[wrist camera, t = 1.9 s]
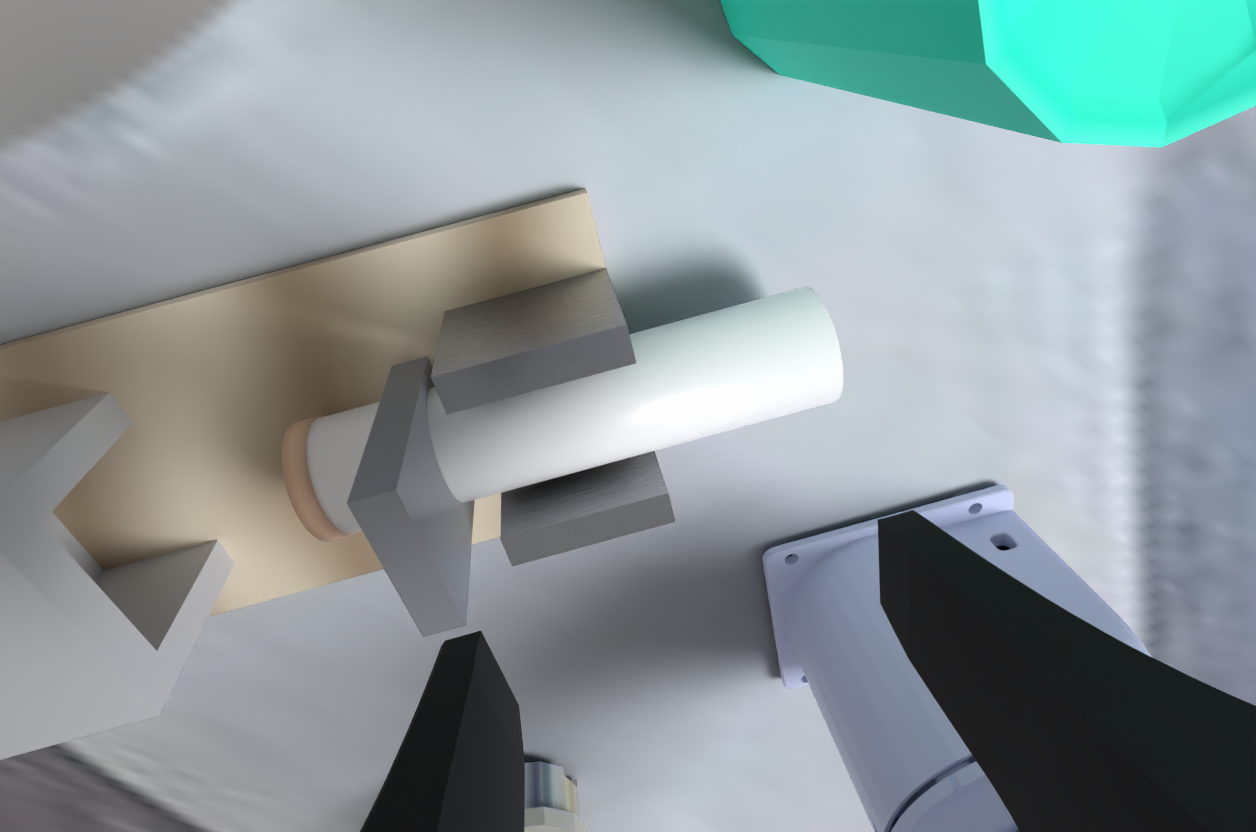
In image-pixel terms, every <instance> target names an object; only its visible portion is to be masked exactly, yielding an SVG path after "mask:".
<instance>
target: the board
mask: <svg viewBox="0 0 1256 832" xmlns="http://www.w3.org/2000/svg"><path fill="white" fill-rule="evenodd" d="M604 268H606V267H605V263H604V259H603V255H602V251H601V247H600V243H599V239H598V235H597V231H596V227H595V223H594V219H593V215H592V211H591V207H590V203H589V199H588V195H587V191H586V189H585V188H584V189H581V190H577V191H573V192H569V193H566V194H562V195H558V196H554V197H551V198H547V199H543V200H540V201H536V202H532V203H528V204H525V205H521V206H517V207H513V208H510V209H506V210H502V211H498V212H495V213H491V214H487V215H483V216H480V217H476V218H472V219H469V220H465V221H461V222H457V223H454V224H450V225H446V226H442V227H439V228H435V229H431V230H427V231H424V232H420V233H416V234H413V235H409V236H405V237H401V238H398V239H394V240H390V241H386V242H383V243H379V244H375V245H371V246H368V247H364V248H360V249H356V250H353V251H349V252H345V253H342V254H338V255H334V256H330V257H327V258H323V259H319V260H315V261H312V262H308V263H304V264H300V265H297V266H293V267H289V268H286V269H282V270H278V271H274V272H271V273H267V274H263V275H259V276H256V277H252V278H248V279H244V280H241V281H237V282H233V283H229V284H226V285H222V286H218V287H215V288H211V289H207V290H203V291H200V292H196V293H192V294H188V295H185V296H181V297H177V298H173V299H170V300H166V301H162V302H158V303H155V304H151V305H147V306H144V307H140V308H136V309H132V310H129V311H125V312H121V313H117V314H114V315H110V316H106V317H102V318H99V319H95V320H91V321H88V322H84V323H80V324H76V325H73V326H69V327H65V328H61V329H58V330H54V331H50V332H46V333H43V334H39V335H35V336H31V337H28V338H24V339H20V340H17V341H13V342H9V343H5V344H2V345H0V422H1V421H5V420H8V419H12V418H16V417H19V416H23V415H27V414H31V413H34V412H38V411H42V410H45V409H49V408H53V407H57V406H60V405H64V404H68V403H72V402H75V401H79V400H83V399H86V398H90V397H94V396H98V395H101V394H105V393H109V392H110V393H111V394H112V395H113V397H114V398H115V399H116V401H117V402H118V404H119V405H120V406H121V408H122V409H123V410H124V412H125V413H126V415H127V416H128V417H129V419H130V420H131V421H132V424H131V425H130V426H129V427H128V428H127V430H126V431H125V432H124V433H123V434H122V435H121V436H120V437H119V438H118V439H117V441H116V442H115V443H114V444H113V445H112V446H111V447H110V448H109V449H108V450H107V451H106V453H105V454H104V455H103V456H102V457H101V458H100V459H99V460H98V461H97V462H96V464H95V465H94V466H93V467H92V468H91V469H90V470H89V471H88V472H87V473H86V475H85V476H84V477H83V478H82V479H81V480H80V481H79V482H78V483H77V484H76V486H75V487H74V488H73V489H72V490H71V491H70V492H69V493H68V494H67V495H66V497H65V498H64V499H63V500H62V501H61V502H60V503H59V504H58V505H57V506H56V508H55V509H54V510H53V511H52V512H53V513H54V515H55V516H56V517H57V518H58V519H59V520H60V521H61V523H62V524H63V525H64V526H65V527H66V528H67V529H68V531H69V532H70V533H71V534H72V535H73V536H74V537H75V538H76V540H77V541H78V542H79V543H80V544H81V545H82V546H83V548H84V549H85V550H86V551H87V552H88V553H89V554H90V556H91V557H92V558H93V559H94V560H95V561H96V562H97V564H98V565H99V566H100V567H101V568H102V569H103V570H104V571H105V570H109V569H113V568H116V567H120V566H124V565H127V564H131V563H135V562H138V561H142V560H146V559H149V558H153V557H157V556H160V555H164V554H168V553H171V552H175V551H179V550H182V549H186V548H190V547H193V546H197V545H201V544H205V543H208V542H212V541H216V540H219V542H220V543H221V545H222V546H223V547H224V549H225V550H226V551H227V553H228V554H229V555H230V557H231V558H232V560H233V561H234V562H235V564H234V566H233V568H232V570H231V572H230V574H229V576H228V578H227V580H226V582H225V584H224V586H223V588H222V590H221V592H220V594H219V596H218V598H217V600H216V602H215V604H214V606H213V608H212V610H211V612H210V614H209V616H213V615H217V614H220V613H224V612H228V611H231V610H235V609H239V608H242V607H246V606H250V605H253V604H257V603H261V602H264V601H268V600H272V599H275V598H279V597H282V596H286V595H290V594H293V593H297V592H301V591H304V590H308V589H312V588H315V587H319V586H323V585H326V584H330V583H334V582H337V581H341V580H345V579H348V578H352V577H356V576H359V575H363V574H367V573H370V572H374V571H377V570H381V569H384V568H383V566H382V564H381V563H380V561H379V559H378V557H377V556H376V554H375V552H374V550H373V549H372V547H371V545H370V543H369V542H368V540H367V538H366V536H365V535H364V533H363V531H359V532H357V533H356V534H354V535H351V536H348V537H344V538H340V539H337V540H333V541H329V542H325V541H321V540H319V539H317V538H315V537H314V536H313V535H312V534H310V533H309V532H308V531H307V529H306V528H305V527H304V526H303V524H302V523H301V521H300V520H299V518H298V516H297V515H296V513H295V511H294V509H293V507H292V504H291V502H290V499H289V496H288V493H287V490H286V486H285V482H284V478H283V472H282V461H281V452H282V443H283V439H284V435H285V433H286V431H287V429H288V428H289V427H290V426H291V425H292V424H294V423H296V422H299V421H303V420H307V419H310V418H314V417H318V416H329V415H332V414H336V413H340V412H344V411H347V410H351V409H355V408H358V407H362V406H366V405H369V404H373V403H377V402H380V400H381V397H382V394H383V391H384V388H385V385H386V382H387V379H388V376H389V373H390V370H391V367H392V366H393V365H397V364H400V363H404V362H408V361H411V360H415V359H419V358H423V357H426V356H428V358H429V361H430V363H431V365H432V368H433V364H434V360H435V355H436V350H437V345H438V341H439V336H440V331H441V327H442V322H443V317H444V312H445V311H448V310H452V309H456V308H459V307H463V306H467V305H470V304H474V303H478V302H482V301H485V300H489V299H493V298H496V297H500V296H504V295H508V294H511V293H515V292H519V291H522V290H526V289H530V288H533V287H537V286H541V285H545V284H548V283H552V282H556V281H559V280H563V279H567V278H571V277H574V276H578V275H582V274H585V273H589V272H593V271H597V270H600V269H604ZM498 537H501V493H498V494H494V495H491V496H487V497H483V498H480V499H476V500H475V501H474V516H473V530H472V544H476V543H480V542H483V541H487V540H491V539H494V538H498ZM472 544H471V545H472ZM209 616H208V617H209Z"/></svg>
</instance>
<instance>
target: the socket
mask: <svg viewBox="0 0 1256 832" xmlns="http://www.w3.org/2000/svg"><path fill="white" fill-rule="evenodd" d="M131 424H132V421H131V420H130V419H129V417H128V416H127V415H126V413H125V412H124V410H123V409H122V408H121V406H120V405H119V404H118V402H117V401H116V399H115V398H114V397H113V395H112V394H111V393H110V392H109V393H105V394H101V395H98V396H94V397H90V398H86V399H83V400H79V401H75V402H72V403H68V404H64V405H60V406H57V407H53V408H49V409H45V410H42V411H38V412H34V413H31V414H27V415H23V416H19V417H16V418H12V419H8V420H5V421H1V422H0V760H1V759H5V758H8V757H12V756H16V755H19V754H23V753H26V752H30V751H34V750H37V749H41V748H45V747H48V746H52V745H56V744H59V743H63V742H66V741H70V740H74V739H77V738H81V737H85V736H88V735H92V734H96V733H99V732H103V731H106V730H110V729H114V728H117V727H121V726H125V725H128V724H132V723H135V722H139V721H143V720H146V719H150V718H154V717H157V716H159V715H160V713H161V711H162V709H163V707H164V705H165V703H166V701H167V699H168V697H169V695H170V693H171V691H172V689H173V687H174V685H175V683H176V681H177V679H178V677H179V675H180V673H181V671H182V669H183V667H184V665H185V663H186V661H187V659H188V657H189V655H190V653H191V651H192V649H193V647H194V645H195V643H196V641H197V639H198V637H199V635H200V633H201V630H202V628H203V626H204V624H205V622H206V620H207V618H208V616H209V614H210V612H211V610H212V608H213V606H214V604H215V602H216V600H217V598H218V596H219V594H220V592H221V590H222V588H223V586H224V584H225V582H226V580H227V578H228V576H229V574H230V572H231V570H232V568H233V566H234V564H235V562H234V561H233V560H232V558H231V557H230V555H229V554H228V553H227V551H226V550H225V549H224V547H223V546H222V545H221V543H220V542H219V540H216V541H212V542H208V543H205V544H201V545H197V546H193V547H190V548H186V549H182V550H179V551H175V552H171V553H168V554H164V555H160V556H157V557H153V558H149V559H146V560H142V561H138V562H135V563H131V564H127V565H124V566H120V567H116V568H113V569H109V570H105V571H104V570H103V569H102V568H101V567H100V566H99V565H98V564H97V562H96V561H95V560H94V559H93V558H92V557H91V556H90V554H89V553H88V552H87V551H86V550H85V549H84V548H83V546H82V545H81V544H80V543H79V542H78V541H77V540H76V538H75V537H74V536H73V535H72V534H71V533H70V532H69V531H68V529H67V528H66V527H65V526H64V525H63V524H62V523H61V521H60V520H59V519H58V518H57V517H56V516H55V515H54V513H53V512H52V511H53V510H54V509H55V508H56V506H57V505H58V504H59V503H60V502H61V501H62V500H63V499H64V498H65V497H66V495H67V494H68V493H69V492H70V491H71V490H72V489H73V488H74V487H75V486H76V484H77V483H78V482H79V481H80V480H81V479H82V478H83V477H84V476H85V475H86V473H87V472H88V471H89V470H90V469H91V468H92V467H93V466H94V465H95V464H96V462H97V461H98V460H99V459H100V458H101V457H102V456H103V455H104V454H105V453H106V451H107V450H108V449H109V448H110V447H111V446H112V445H113V444H114V443H115V442H116V441H117V439H118V438H119V437H120V436H121V435H122V434H123V433H124V432H125V431H126V430H127V428H128V427H129V426H130V425H131Z"/></svg>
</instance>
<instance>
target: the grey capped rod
mask: <svg viewBox="0 0 1256 832" xmlns="http://www.w3.org/2000/svg"><path fill="white" fill-rule="evenodd" d="M524 832H589V826H588V825H587V824H586V823H585V822H584V821H582V820H581V819H580V818H579V807H578V794H577V780H576V779H575V780H569V779H568V778H567V777H566V776H565V775H564V767H560V766H556V765H552V764H548V763H544V762H529V763H525V820H524Z"/></svg>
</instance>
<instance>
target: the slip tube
mask: <svg viewBox="0 0 1256 832" xmlns="http://www.w3.org/2000/svg"><path fill="white" fill-rule="evenodd" d="M630 339H631V343H632V347H633V351H634V355H635V359H636V364H632V365H628V366H625V367H621V368H617V369H614V370H610V371H606V372H603V373H599V374H595V375H592V376H588V377H584V378H580V379H577V380H573V381H569V382H566V383H562V384H558V385H555V386H551V387H547V388H544V389H540V390H536V391H533V392H529V393H525V394H521V395H518V396H514V397H510V398H507V399H503V400H499V401H496V402H492V403H488V404H485V405H481V406H477V407H474V408H470V409H466V410H462V411H459V412H455V413H451V414H448V415H447V414H446V412H445V409H444V407H443V405H442V403H441V400H440V398H439V396H438V393H437V391H436V389H435V386H434V384H433V382H432V379H431V374H432V369H433V368H432V365H431V363H430V361H429V358H428V356H426V357H423V358H419V359H415V360H411V361H408V362H404V363H400V364H397V365H393V366H392V367H391V370H390V373H389V376H388V379H387V382H386V385H385V388H384V391H383V394H382V397H381V400H380V402H377V403H373V404H369V405H366V406H362V407H358V408H355V409H351V410H347V411H344V412H340V413H336V414H332V415H329V416H318V417H314V418H310V419H307V420H303V421H299V422H296V423H294V424H292V425H291V426H290V427H289V428H288V429H287V431H286V433H285V435H284V439H283V443H282V452H281V461H282V472H283V478H284V482H285V486H286V490H287V493H288V496H289V499H290V502H291V504H292V507H293V509H294V511H295V513H296V515H297V516H298V518H299V520H300V521H301V523H302V524H303V526H304V527H305V528H306V529H307V531H308V532H309V533H310V534H312V535H313V536H314V537H315V538H317V539H319V540H321V541H325V542H329V541H333V540H337V539H340V538H344V537H348V536H351V535H354V534H356V533H357V532H359V531H363V533H364V535H365V536H366V538H367V540H368V542H369V543H370V545H371V547H372V549H373V550H374V552H375V554H376V556H377V557H378V559H379V561H380V563H381V564H382V566H383V568H384V570H385V571H386V573H387V575H388V577H389V578H390V580H391V582H392V583H393V585H394V587H395V589H396V590H397V592H398V594H399V596H400V597H401V599H402V601H403V603H404V604H405V606H406V608H407V610H408V611H409V613H410V615H411V617H412V618H413V620H414V622H415V624H416V625H417V627H418V629H419V631H420V632H421V634H422V636H423V637H425V636H428V635H432V634H436V633H439V632H443V631H447V630H450V629H454V628H458V627H461V626H465V625H466V616H467V602H468V588H469V573H470V559H471V544H472V530H473V516H474V501H475V500H476V499H480V498H483V497H487V496H491V495H494V494H498V493H502V492H505V491H509V490H513V489H516V488H520V487H524V486H527V485H531V484H535V483H538V482H542V481H546V480H549V479H553V478H557V477H560V476H564V475H568V474H571V473H575V472H579V471H582V470H586V469H590V468H593V467H597V466H601V465H604V464H608V463H612V462H615V461H619V460H623V459H626V458H630V457H634V456H637V455H641V454H645V453H648V452H652V451H656V450H659V449H663V448H667V447H670V446H674V445H678V444H681V443H685V442H689V441H692V440H696V439H700V438H703V437H707V436H711V435H714V434H718V433H722V432H725V431H729V430H733V429H736V428H740V427H744V426H747V425H751V424H755V423H758V422H762V421H766V420H769V419H773V418H777V417H780V416H784V415H788V414H791V413H795V412H799V411H802V410H806V409H810V408H813V407H817V406H821V405H824V404H828V403H832V402H835V401H837V400H838V399H839V398H840V396H841V393H842V388H843V365H842V358H841V352H840V347H839V343H838V339H837V335H836V332H835V329H834V326H833V323H832V320H831V318H830V315H829V313H828V311H827V309H826V307H825V305H824V303H823V301H822V300H821V298H820V297H819V295H818V294H817V293H816V292H815V291H814V290H813V289H812V288H810V287H802V288H798V289H794V290H791V291H787V292H783V293H780V294H776V295H772V296H769V297H765V298H761V299H757V300H754V301H750V302H746V303H743V304H739V305H735V306H732V307H728V308H724V309H721V310H717V311H713V312H709V313H706V314H702V315H698V316H695V317H691V318H687V319H684V320H680V321H676V322H672V323H669V324H665V325H661V326H658V327H654V328H650V329H647V330H643V331H639V332H636V333H632V334H630Z"/></svg>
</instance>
